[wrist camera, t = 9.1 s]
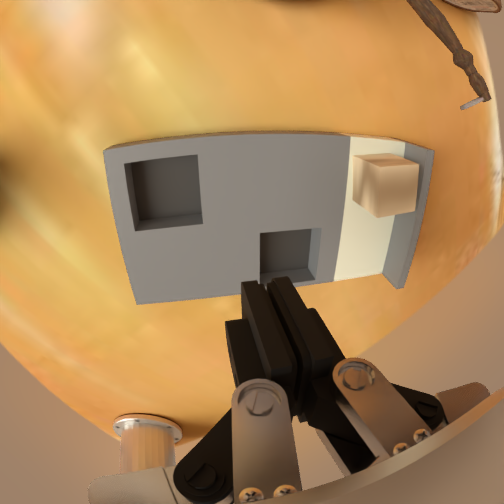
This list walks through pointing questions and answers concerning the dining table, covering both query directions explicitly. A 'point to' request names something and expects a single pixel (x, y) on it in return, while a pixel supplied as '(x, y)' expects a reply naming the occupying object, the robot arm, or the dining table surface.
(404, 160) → the block
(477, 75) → the coffee pot
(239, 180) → the board
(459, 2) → the tin
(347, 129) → the dining table surface
